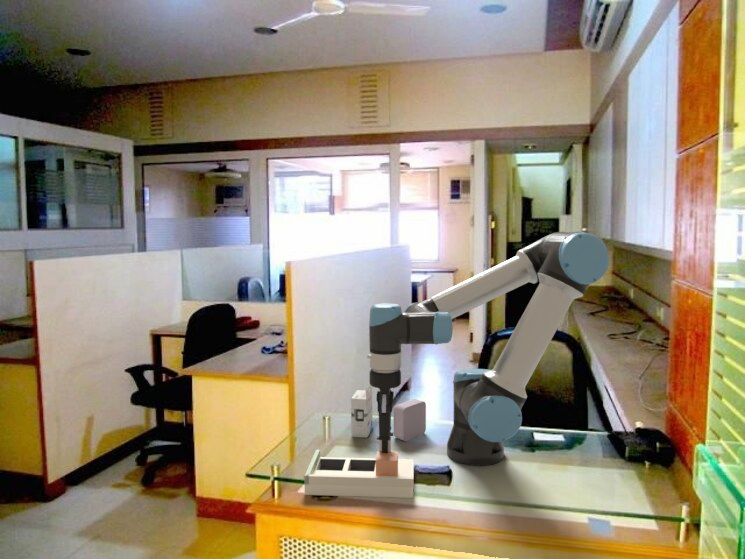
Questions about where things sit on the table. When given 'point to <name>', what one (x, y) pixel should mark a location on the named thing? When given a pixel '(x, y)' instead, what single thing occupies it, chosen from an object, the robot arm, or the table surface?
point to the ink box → (361, 413)
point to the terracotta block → (387, 464)
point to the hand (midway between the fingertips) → (385, 463)
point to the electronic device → (409, 419)
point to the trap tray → (357, 478)
